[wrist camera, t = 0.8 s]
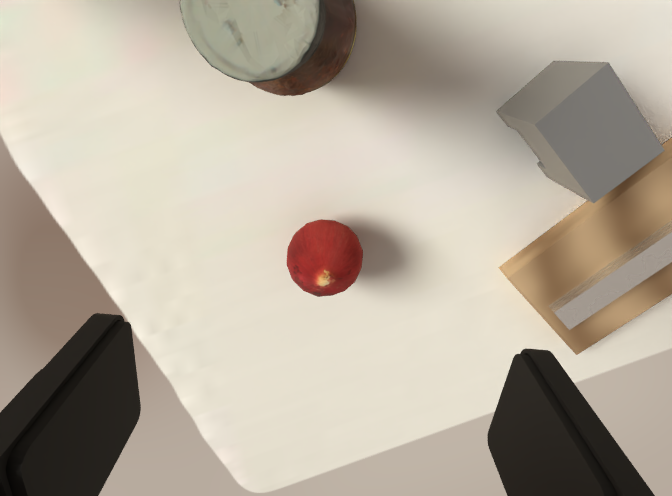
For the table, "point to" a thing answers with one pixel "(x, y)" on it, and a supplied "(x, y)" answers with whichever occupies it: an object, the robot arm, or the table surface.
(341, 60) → the sauce bottle
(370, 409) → the table surface
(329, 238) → the red oval fruit
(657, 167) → the mounting board
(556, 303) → the rail
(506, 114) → the block
